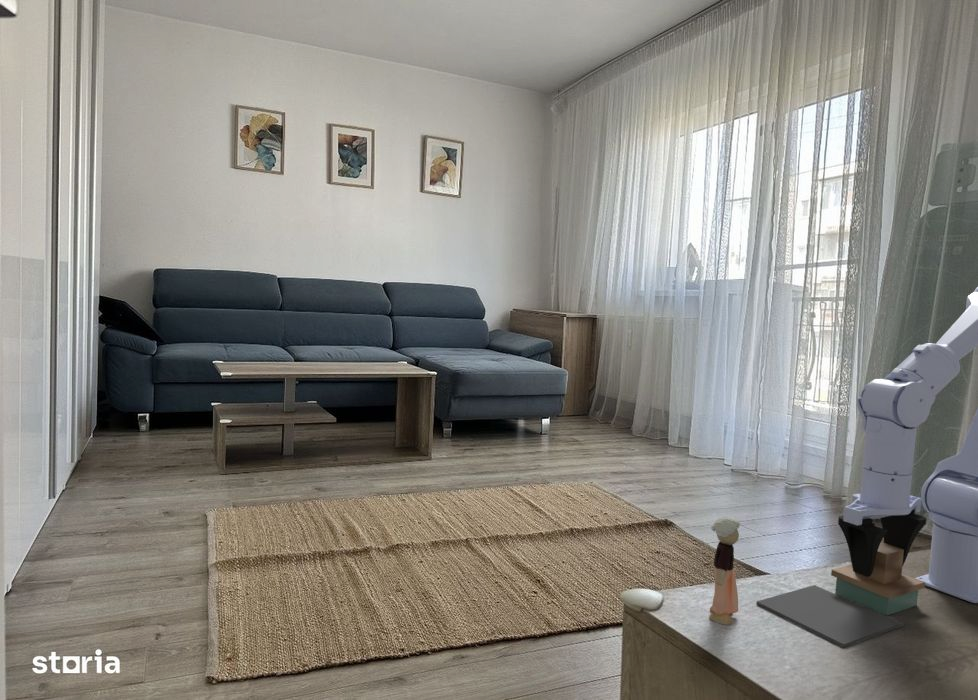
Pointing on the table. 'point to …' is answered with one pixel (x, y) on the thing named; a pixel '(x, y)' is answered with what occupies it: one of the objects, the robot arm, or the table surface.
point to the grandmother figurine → (725, 571)
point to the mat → (829, 615)
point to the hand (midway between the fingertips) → (878, 569)
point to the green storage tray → (875, 598)
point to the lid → (883, 574)
